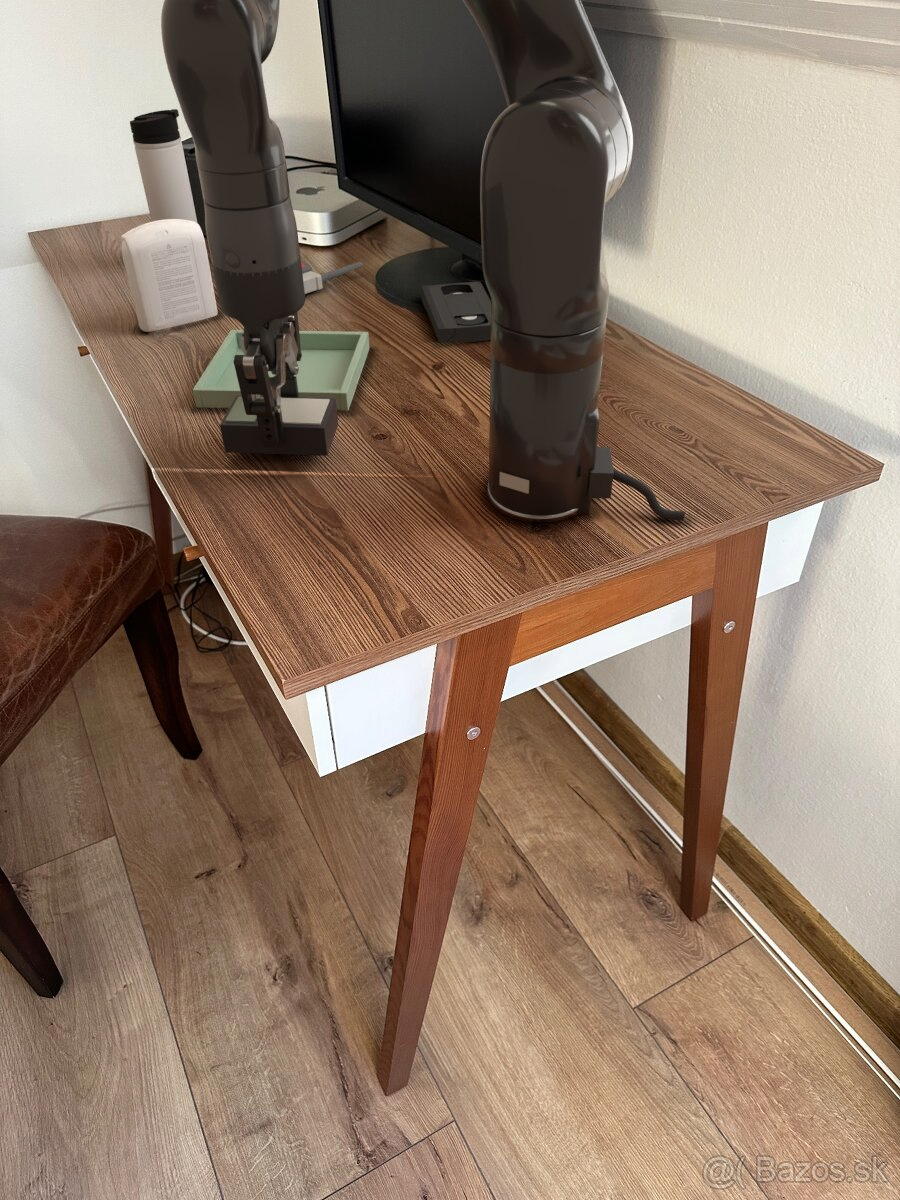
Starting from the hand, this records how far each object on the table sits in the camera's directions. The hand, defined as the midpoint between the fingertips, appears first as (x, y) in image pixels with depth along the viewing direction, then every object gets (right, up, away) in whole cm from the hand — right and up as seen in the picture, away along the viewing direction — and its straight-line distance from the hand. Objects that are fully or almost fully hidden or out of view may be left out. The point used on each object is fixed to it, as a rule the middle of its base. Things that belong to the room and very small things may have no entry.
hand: (281, 427), depth 86 cm
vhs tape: (+18, +19, +27) cm, 37 cm away
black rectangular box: (0, -1, +1) cm, 1 cm away
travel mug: (-23, +33, +44) cm, 59 cm away
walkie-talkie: (-5, +26, +36) cm, 45 cm away
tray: (-2, +8, +15) cm, 17 cm away
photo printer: (-18, +19, +28) cm, 38 cm away
